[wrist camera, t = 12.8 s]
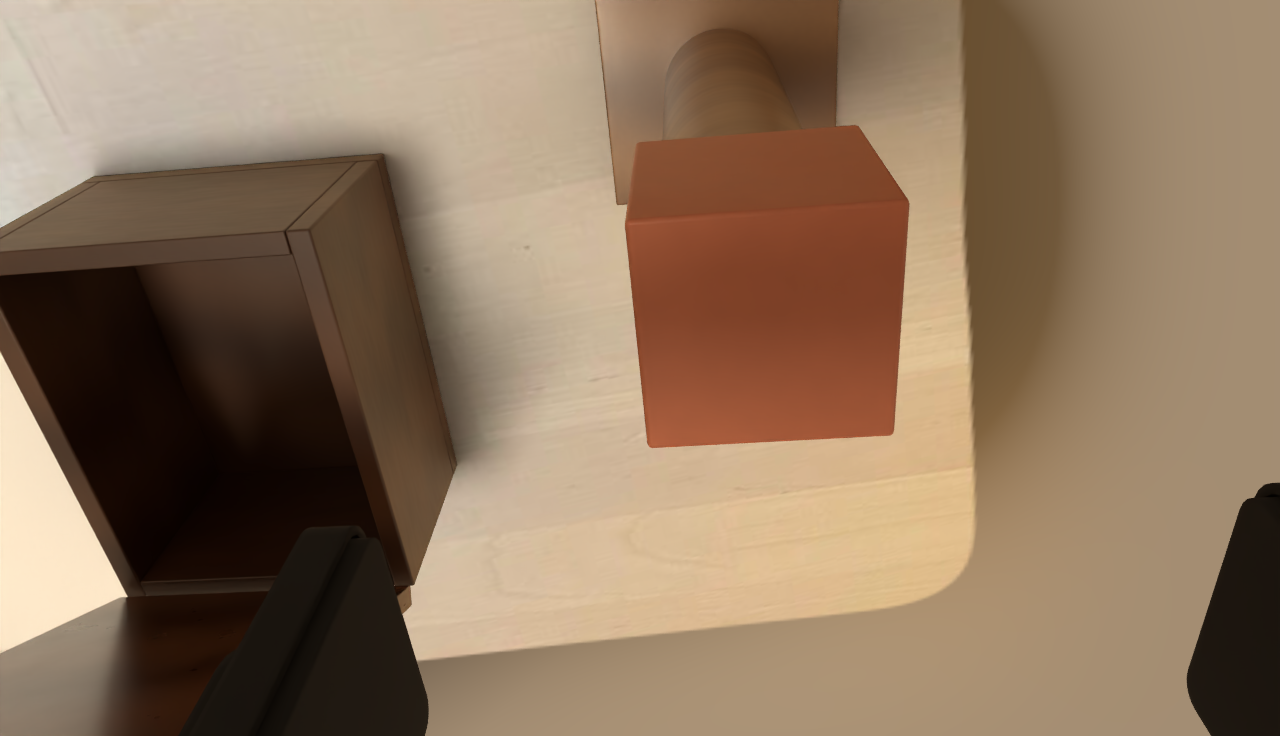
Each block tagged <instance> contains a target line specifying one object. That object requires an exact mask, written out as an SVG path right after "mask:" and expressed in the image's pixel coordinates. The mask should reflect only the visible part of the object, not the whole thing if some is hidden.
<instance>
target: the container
mask: <svg viewBox="0 0 1280 736" xmlns="http://www.w3.org/2000/svg"><path fill="white" fill-rule="evenodd" d="M120 597H128V596H127V595H126V593H125V591H124V589H123V587H122V585H121V583H120V581H119V579H118V577H117V575H116V574H115V572H114V570H113V568H112V566H111V564H110V562H109V560H108V558H107V556H106V554H105V552H104V551H103V549H102V547H101V545H100V543H99V541H98V539H97V537H96V535H95V533H94V531H93V529H92V527H91V526H90V524H89V522H88V520H87V518H86V516H85V514H84V512H83V510H82V508H81V506H80V504H79V502H78V501H77V499H76V497H75V495H74V493H73V491H72V489H71V487H70V485H69V483H68V481H67V479H66V478H65V476H64V474H63V472H62V470H61V468H60V466H59V464H58V462H57V460H56V458H55V456H54V454H53V453H52V451H51V449H50V447H49V445H48V443H47V441H46V439H45V437H44V435H43V433H42V431H41V429H40V428H39V426H38V424H37V422H36V420H35V418H34V416H33V414H32V412H31V410H30V408H29V406H28V405H27V403H26V401H25V399H24V397H23V395H22V393H21V391H20V389H19V387H18V385H17V383H16V381H15V380H14V378H13V376H12V374H11V372H10V370H9V368H8V366H7V364H6V362H5V360H4V358H3V356H2V355H1V353H0V650H9V649H11V648H13V647H15V646H17V645H19V644H21V643H23V642H26V641H28V640H30V639H32V638H34V637H36V636H38V635H41V634H43V633H45V632H47V631H49V630H51V629H53V628H56V627H58V626H60V625H62V624H64V623H66V622H68V621H71V620H73V619H75V618H77V617H79V616H81V615H83V614H86V613H88V612H90V611H92V610H94V609H96V608H98V607H100V606H103V605H105V604H107V603H109V602H111V601H113V600H115V599H118V598H120Z"/></svg>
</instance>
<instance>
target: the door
mask: <svg viewBox="0 0 1280 736" xmlns="http://www.w3.org/2000/svg"><path fill="white" fill-rule="evenodd" d="M394 589H395V592H396V595H397V598H398V602H399V605H400V608H401V612H402V614H403V613H404V612H405V611H406V610H407V609H408V608H409V607H410V606H411V605H412V602H411V589H410V585H400V586H394ZM268 592H269V591H255V592H231V593H207V594H183V595H159V596H135V597H120V598H118V599H115V600H113V601H111V602H109V603H107V604H105V605H103V606H100V607H98V608H96V609H94V610H92V611H90V612H88V613H86V614H83V615H81V616H79V617H77V618H75V619H73V620H71V621H68V622H66V623H64V624H62V625H60V626H58V627H56V628H53V629H51V630H49V631H47V632H45V633H43V634H41V635H38V636H36V637H34V638H32V639H30V640H28V641H26V642H23V643H21V644H19V645H17V646H15V647H13V648H11V649H9V650H6V651H4V652H2V653H0V736H178V735H179V733H180V732H181V730H182V728H183V726H184V724H185V723H186V721H187V719H188V717H189V716H190V714H191V712H192V710H193V709H194V707H195V705H196V703H197V702H198V700H199V698H200V696H201V694H202V693H203V691H204V689H205V687H206V686H207V684H208V682H209V680H210V679H211V677H212V675H213V673H214V672H215V670H216V668H217V667H218V666H219V664H220V663H221V662H222V660H223V659H224V657H225V656H227V655H228V654H230V653H231V652H232V651H234V650H237V648H238V646H239V644H240V642H241V641H242V639H243V637H244V635H245V633H246V632H247V630H248V628H249V626H250V624H251V622H252V621H253V619H254V617H255V615H256V613H257V612H258V610H259V608H260V606H261V604H262V603H263V601H264V599H265V597H266V595H267V594H268Z"/></svg>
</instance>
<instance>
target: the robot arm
mask: <svg viewBox="0 0 1280 736" xmlns="http://www.w3.org/2000/svg"><path fill="white" fill-rule="evenodd" d="M1187 688H1188V693H1189V696H1190V699H1191V702H1192V704H1193V706H1194V708H1195V710H1196V712H1197V714H1198V715H1199V717H1200V718H1201V720H1202V722H1203V723H1204V725H1205V726H1206V728H1207V730H1208V731H1209V733H1210V735H1211V736H1280V483H1270V484H1266V485H1264V486H1263V487H1262V488H1260V489H1259V490H1258V492H1257V494H1256V496H1255V498H1250V499H1247V500H1246V501H1245V502H1243V504H1242V506H1241V508H1240V510H1239V513H1238V516H1237V520H1236V523H1235V526H1234V529H1233V532H1232V535H1231V538H1230V541H1229V545H1228V548H1227V551H1226V554H1225V557H1224V560H1223V563H1222V566H1221V570H1220V573H1219V576H1218V579H1217V582H1216V585H1215V588H1214V591H1213V595H1212V597H1211V600H1210V604H1209V607H1208V610H1207V613H1206V616H1205V619H1204V622H1203V625H1202V628H1201V631H1200V635H1199V638H1198V641H1197V644H1196V647H1195V651H1194V653H1193V656H1192V660H1191V663H1190V666H1189V669H1188V673H1187ZM427 724H428V699H427V694H426V691H425V688H424V684H423V681H422V678H421V674H420V671H419V668H418V664H417V661H416V658H415V655H414V651H413V648H412V645H411V641H410V638H409V635H408V631H407V628H406V625H405V622H404V618H403V615H402V612H401V608H400V605H399V602H398V598H397V595H396V592H395V589H394V585H393V582H392V579H391V575H390V572H389V569H388V565H387V562H386V559H385V556H384V552H383V549H382V546H381V544H380V541H379V540H378V539H377V538H366V535H365V533H364V531H363V530H362V529H361V528H360V526H355V525H354V526H332V527H311V528H308V529H306V530H304V531H303V532H302V534H301V535H300V536H299V538H298V540H297V541H296V543H295V545H294V547H293V549H292V550H291V552H290V554H289V556H288V558H287V559H286V561H285V563H284V565H283V567H282V568H281V570H280V572H279V574H278V576H277V577H276V579H275V581H274V583H273V585H272V586H271V588H270V590H269V592H268V594H267V595H266V597H265V599H264V601H263V603H262V604H261V606H260V608H259V610H258V612H257V613H256V615H255V617H254V619H253V621H252V622H251V624H250V626H249V628H248V630H247V632H246V633H245V635H244V637H243V639H242V641H241V642H240V644H239V646H238V648H237V650H234V651H232V652H231V653H230V654H228V655H227V656H225V657H224V659H223V660H222V662H221V663H220V664H219V666H218V667H217V668H216V670H215V672H214V673H213V675H212V677H211V679H210V680H209V682H208V684H207V686H206V687H205V689H204V691H203V693H202V694H201V696H200V698H199V700H198V702H197V703H196V705H195V707H194V709H193V710H192V712H191V714H190V716H189V717H188V719H187V721H186V723H185V724H184V726H183V728H182V730H181V732H180V733H179V735H178V736H425V733H426V729H427Z"/></svg>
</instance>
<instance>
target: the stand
mask: <svg viewBox="0 0 1280 736" xmlns="http://www.w3.org/2000/svg"><path fill="white" fill-rule="evenodd" d="M595 5H596V14H597V23H598V33H599V42H600V52H601V61H602V70H603V80H604V89H605V99H606V108H607V117H608V127H609V136H610V146H611V155H612V164H613V174H614V183H615V193H616V202H617V205H624V204H628V198H629V190H630V183H631V176H632V168H633V161H634V153H635V147H636V144H637V143H639V142H647V141H660V140H673V139H685V138H698V137H711V136H724V135H736V134H749V133H762V132H775V131H787V130H800V129H813V128H826V127H836V92H837V49H838V6H839V0H595Z"/></svg>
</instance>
